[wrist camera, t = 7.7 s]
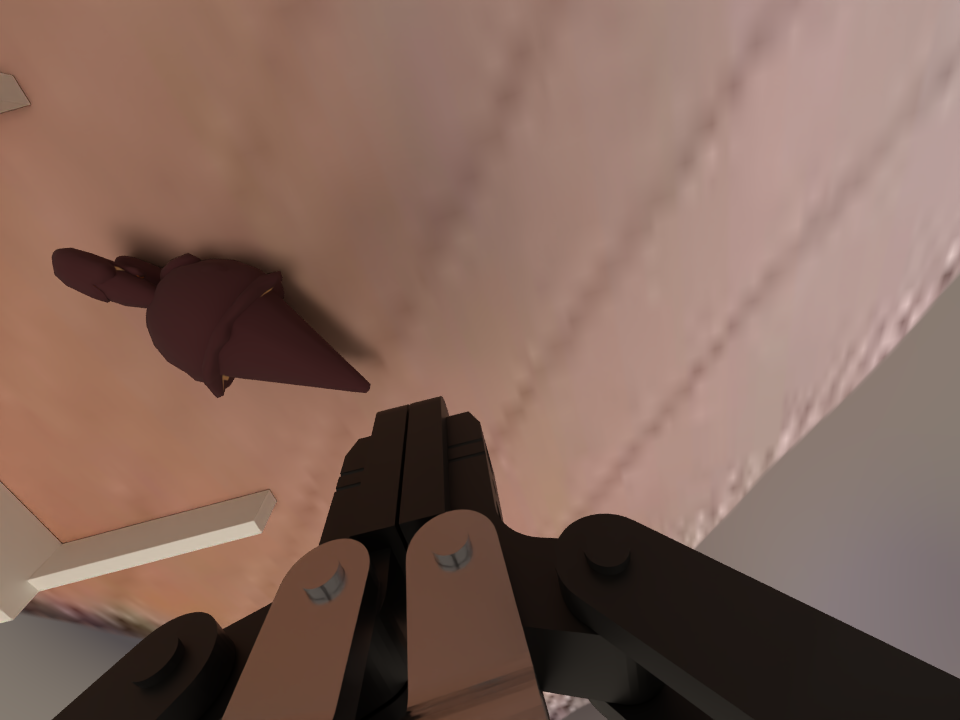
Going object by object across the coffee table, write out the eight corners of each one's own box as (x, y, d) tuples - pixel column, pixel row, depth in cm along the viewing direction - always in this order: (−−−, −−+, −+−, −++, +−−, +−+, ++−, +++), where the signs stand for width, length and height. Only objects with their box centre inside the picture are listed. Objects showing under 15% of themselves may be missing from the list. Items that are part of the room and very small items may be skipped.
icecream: (396, 339, 20) (60, 170, 17) (327, 471, 21) (-10, 330, 18) (401, 326, 27) (161, 203, 24) (349, 425, 28) (109, 318, 24)
